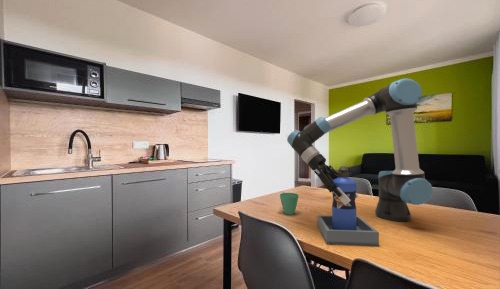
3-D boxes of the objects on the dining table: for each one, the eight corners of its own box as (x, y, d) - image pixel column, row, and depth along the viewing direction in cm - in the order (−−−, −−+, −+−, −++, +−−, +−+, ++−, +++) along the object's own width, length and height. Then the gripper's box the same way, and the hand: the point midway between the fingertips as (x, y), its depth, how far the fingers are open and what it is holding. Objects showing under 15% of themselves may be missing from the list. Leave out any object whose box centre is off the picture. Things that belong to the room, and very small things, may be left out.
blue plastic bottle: (355, 235, 83) (354, 168, 83) (329, 230, 88) (328, 167, 88) (358, 227, 90) (357, 166, 91) (334, 223, 95) (333, 165, 96)
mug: (301, 215, 115) (301, 196, 115) (284, 216, 113) (283, 197, 113) (290, 207, 129) (290, 190, 129) (274, 208, 127) (274, 191, 127)
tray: (359, 227, 97) (359, 216, 97) (379, 246, 79) (378, 232, 79) (317, 226, 99) (317, 215, 99) (327, 244, 81) (326, 230, 81)
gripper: (318, 163, 108) (353, 200, 97) (296, 166, 91) (335, 212, 80) (329, 152, 104) (366, 190, 94) (307, 153, 88) (350, 199, 77)
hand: (352, 200), depth 87 cm, fingers closed on blue plastic bottle, 9 cm apart
